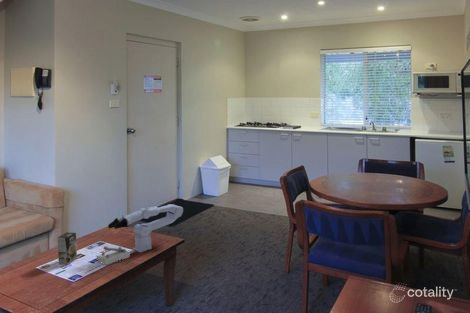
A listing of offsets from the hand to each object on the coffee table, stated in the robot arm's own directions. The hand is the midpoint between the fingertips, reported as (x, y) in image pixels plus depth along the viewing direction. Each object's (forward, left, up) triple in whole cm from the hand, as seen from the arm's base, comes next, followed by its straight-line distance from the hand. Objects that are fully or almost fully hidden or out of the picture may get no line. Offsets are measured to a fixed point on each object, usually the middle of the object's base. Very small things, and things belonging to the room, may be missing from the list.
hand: (111, 226), depth 234 cm
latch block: (0, +1, -20) cm, 20 cm away
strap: (0, +1, -15) cm, 15 cm away
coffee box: (+20, -15, -20) cm, 32 cm away
